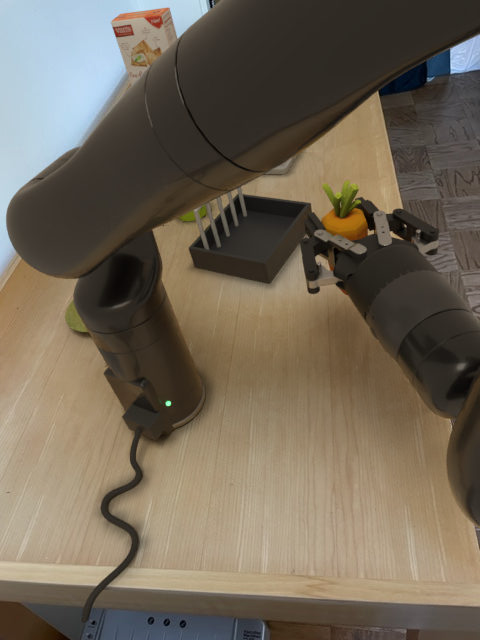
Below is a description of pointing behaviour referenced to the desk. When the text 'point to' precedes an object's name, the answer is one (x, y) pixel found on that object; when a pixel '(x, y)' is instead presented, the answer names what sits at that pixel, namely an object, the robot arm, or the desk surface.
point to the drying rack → (249, 236)
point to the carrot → (345, 215)
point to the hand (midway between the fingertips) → (334, 212)
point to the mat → (74, 319)
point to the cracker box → (143, 38)
